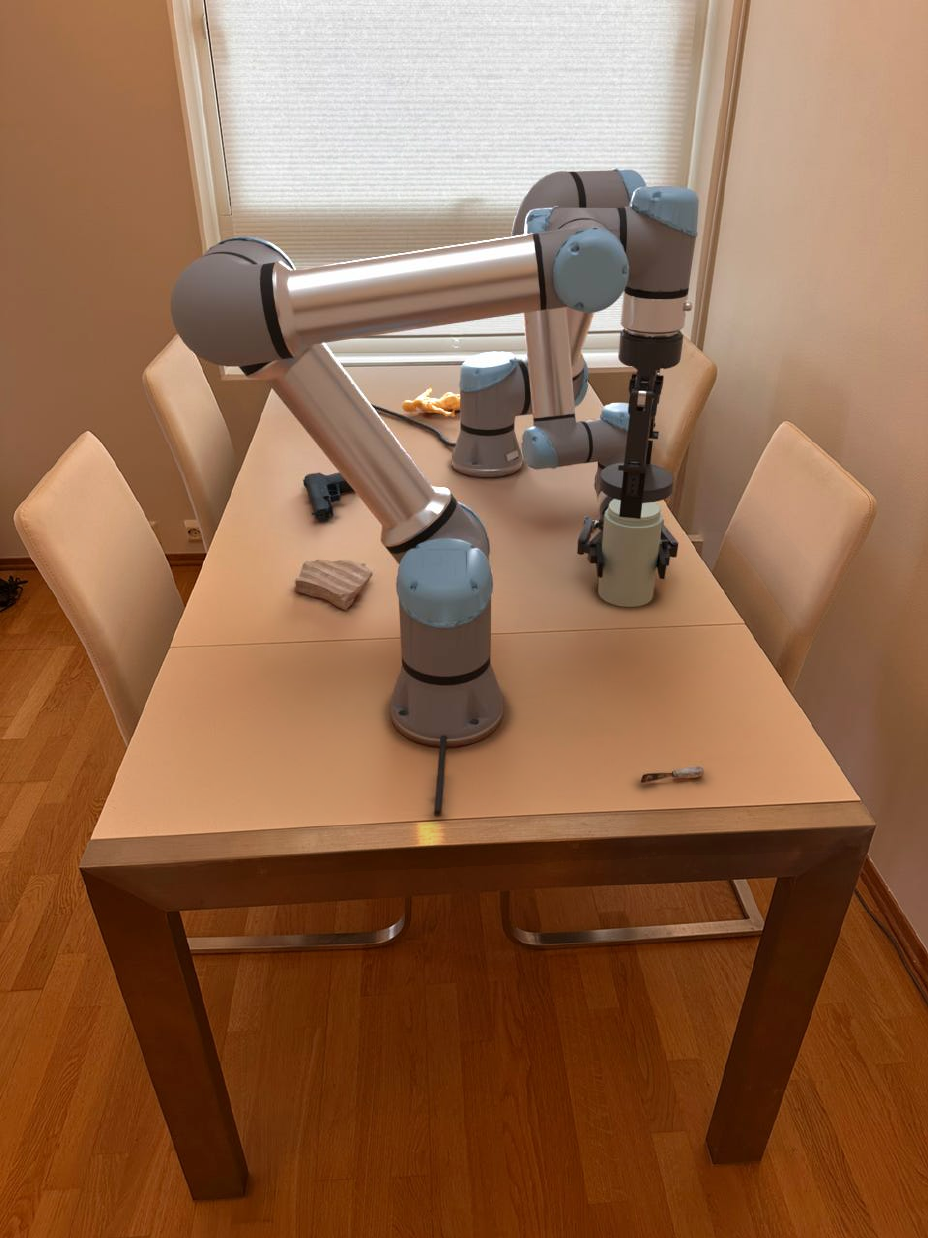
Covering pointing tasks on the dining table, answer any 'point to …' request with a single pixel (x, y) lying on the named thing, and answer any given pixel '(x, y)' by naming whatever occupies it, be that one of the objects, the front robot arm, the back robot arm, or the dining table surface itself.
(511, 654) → the dining table surface
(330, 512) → the handgun
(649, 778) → the putty knife
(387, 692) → the dining table surface
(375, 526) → the dining table surface
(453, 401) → the human figure
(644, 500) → the lid
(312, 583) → the stone
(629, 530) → the jar
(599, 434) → the back robot arm
